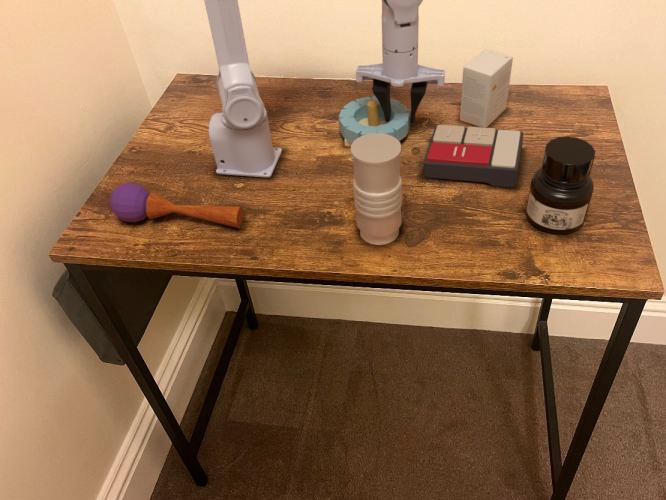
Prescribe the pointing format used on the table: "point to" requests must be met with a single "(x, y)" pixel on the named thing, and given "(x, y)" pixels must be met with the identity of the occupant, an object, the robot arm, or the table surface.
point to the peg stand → (371, 118)
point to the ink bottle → (562, 186)
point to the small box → (485, 88)
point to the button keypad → (474, 155)
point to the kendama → (166, 207)
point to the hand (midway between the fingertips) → (400, 119)
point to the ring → (355, 130)
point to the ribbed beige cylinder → (377, 187)
